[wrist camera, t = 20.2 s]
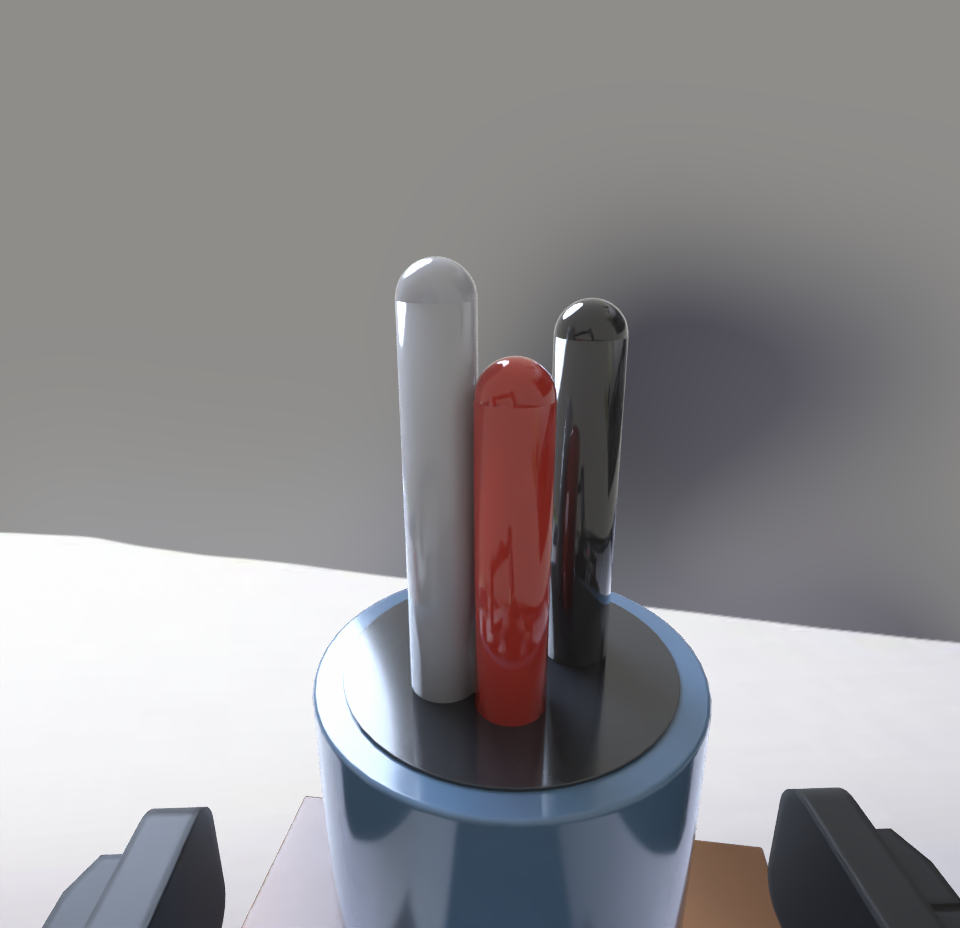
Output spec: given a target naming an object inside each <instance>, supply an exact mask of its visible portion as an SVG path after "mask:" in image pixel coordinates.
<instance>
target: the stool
mask: <svg viewBox="0 0 960 928" xmlns="http://www.w3.org/2000/svg"><path fill="white" fill-rule="evenodd" d="M767 874H768V865H767V862H766V859H765V856H764V852H763V849H762V848H760V847H752V846H744V845H735V844H726V843H717V842H708V841H699V840H694V847H693V854H692V862H691V869H690V876H689V884H688V891H687V898H686V906H685V913H684V921H683V928H781V925H780V923H779V921H778V919H777V917H776V914H775V911H774V908H773V905H772V901H771V897H770V892H769V886H768V876H767ZM242 928H336V919H335V909H334V899H333V890H332V880H331V870H330V861H329V851H328V841H327V832H326V822H325V812H324V802H323V798H319V797H310V796H306V797H305V798H304V800H303V802H302V804H301V806H300V808H299V810H298V812H297V814H296V816H295V819H294V821H293V823H292V825H291V827H290V829H289V831H288V833H287V835H286V837H285V839H284V841H283V843H282V845H281V847H280V849H279V851H278V854H277V856H276V858H275V860H274V862H273V864H272V866H271V868H270V870H269V872H268V874H267V876H266V878H265V880H264V882H263V884H262V886H261V889H260V891H259V893H258V895H257V897H256V899H255V901H254V903H253V905H252V907H251V909H250V911H249V913H248V915H247V917H246V919H245V921H244V924H243V926H242Z"/></svg>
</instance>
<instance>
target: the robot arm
mask: <svg viewBox="0 0 960 928" xmlns="http://www.w3.org/2000/svg"><path fill="white" fill-rule="evenodd" d="M767 876H768V886H769V892H770V897H771V901H772V905H773V908H774V911H775V914H776V917H777V919H778V921H779V923H780V925H781V928H960V898H959V897H958V895H957V894H956V893H955V891H954V890H953V889H952V888H951V886H950V885H949V884H948V882H947V881H946V880H945V879H944V877H943V876H942V875H941V873H940V872H939V871H938V869H937V868H936V867H935V866H934V864H933V863H932V862H931V861H930V860H929V859H928V858H926V857H925V856H924V855H923V854H921V853H920V852H919V851H918V850H916V849H915V848H914V847H913V846H912V845H910V844H909V843H908V842H907V841H905V840H904V839H903V838H902V837H901V836H899V835H898V834H897V833H896V832H894V831H893V830H892V829H875V827H874V826H873V825H872V823H871V822H870V820H869V819H868V818H867V816H866V815H865V813H864V812H863V811H862V809H861V808H860V807H859V805H858V804H857V802H856V801H855V800H854V798H853V797H852V796H851V795H850V794H849V793H848V792H847V791H846V790H844V789H842V788H810V789H787V790H785V791H784V792H783V794H782V796H781V799H780V804H779V810H778V815H777V820H776V826H775V831H774V836H773V842H772V847H771V852H770V858H769V863H768V874H767ZM224 909H225V884H224V878H223V872H222V866H221V860H220V855H219V849H218V843H217V837H216V832H215V826H214V820H213V815H212V812H211V810H210V809H209V808H208V807H192V808H163V809H151V810H149V811H148V812H147V813H146V814H145V815H144V816H143V818H142V819H141V821H140V823H139V825H138V827H137V828H136V830H135V832H134V834H133V836H132V838H131V840H130V842H129V843H128V845H127V847H126V849H125V851H124V853H123V854H117V855H101V856H100V857H99V858H98V859H97V860H96V861H95V862H94V863H93V864H92V865H91V866H90V867H89V868H88V869H87V870H85V871H84V872H83V873H82V874H81V875H80V876H79V877H78V878H77V879H76V880H75V881H74V882H73V883H72V884H71V885H70V886H69V887H68V888H67V889H66V890H65V891H64V892H63V893H62V895H61V897H60V898H59V900H58V902H57V903H56V905H55V907H54V909H53V910H52V912H51V914H50V915H49V917H48V919H47V920H46V922H45V924H44V925H43V927H42V928H222V923H223V917H224Z"/></svg>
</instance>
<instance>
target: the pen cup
mask: <svg viewBox="0 0 960 928" xmlns="http://www.w3.org/2000/svg"><path fill="white" fill-rule="evenodd" d="M395 313H396V335H397V357H398V358H397V359H398V381H399V403H400V404H399V405H400V425H401V426H400V427H401V449H402V473H403V496H404V519H405V540H406V563H407V587H408V588H407V589H404V590H402V591H399V592H397V593H394V594H392V595H390V596H388V597H386V598H384V599H382V600H380V601H378V602H376V603H375V604H373V605H372V606H370V607H368V608H367V609H365V610H364V611H362V612H361V613H360V614H358V615H357V616H356V617H355V618H353V619H352V620H351V621H350V622H348V623H347V625H346V626H345V627H344V628H343V629H342V630H341V631H340V632H339V633H338V634H337V635H336V636H335V638H334V639H333V640H332V642H331V643H330V644H329V646H328V647H327V649H326V651H325V653H324V655H323V657H322V659H321V661H320V663H319V666H318V669H317V673H316V676H315V680H314V688H313V706H314V715H315V725H316V735H317V744H318V754H319V764H320V773H321V783H322V793H323V802H324V812H325V822H326V832H327V841H328V851H329V861H330V870H331V880H332V890H333V899H334V909H335V919H336V928H683V921H684V913H685V906H686V898H687V891H688V884H689V876H690V869H691V862H692V854H693V847H694V839H695V832H696V825H697V817H698V810H699V802H700V795H701V788H702V780H703V773H704V766H705V758H706V751H707V743H708V736H709V729H710V721H711V694H710V689H709V684H708V681H707V678H706V675H705V673H704V670H703V668H702V665H701V663H700V661H699V660H698V658H697V657H696V655H695V653H694V652H693V650H692V649H691V647H690V646H689V645H688V644H687V643H686V641H685V640H684V639H683V638H682V637H681V635H680V634H678V633H677V632H676V631H675V630H674V629H673V628H672V627H671V626H670V625H669V624H668V623H666V622H665V621H664V620H662V619H661V618H660V617H658V616H657V615H656V614H654V613H653V612H651V611H649V610H648V609H646V608H644V607H643V606H641V605H639V604H638V603H636V602H634V601H632V600H630V599H627V598H625V597H624V596H621V595H619V594H617V593H614V592H612V591H611V578H612V564H613V550H614V534H615V521H616V507H617V492H618V478H619V463H620V449H621V435H622V420H623V406H624V392H625V377H626V363H627V349H628V327H627V322H626V320H625V318H624V316H623V314H622V313H621V312H620V310H619V309H618V308H617V307H615V306H614V305H613V304H611V303H610V302H608V301H605V300H602V299H599V298H586V299H582V300H579V301H576V302H575V303H573V304H571V305H570V306H569V307H567V308H566V309H565V310H564V311H563V312H562V314H561V315H560V317H559V318H558V320H557V323H556V325H555V329H554V342H553V371H552V377H551V376H550V374H549V373H548V372H547V370H546V369H545V368H544V367H543V366H542V365H540V364H539V363H538V362H536V361H534V360H532V359H530V358H526V357H522V356H509V357H505V358H501V359H499V360H497V361H495V362H493V363H492V364H490V365H489V366H488V367H487V368H486V369H485V370H484V371H483V372H482V373H481V375H480V376H479V378H478V297H477V290H476V287H475V283H474V281H473V279H472V277H471V275H470V274H469V273H468V272H467V270H466V269H465V268H464V267H462V266H461V265H460V264H459V263H457V262H455V261H453V260H451V259H448V258H444V257H437V256H435V257H427V258H423V259H421V260H418V261H416V262H415V263H413V264H412V265H410V266H409V267H408V268H407V269H406V270H405V272H404V273H403V274H402V276H401V277H400V279H399V281H398V284H397V287H396V292H395Z"/></svg>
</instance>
